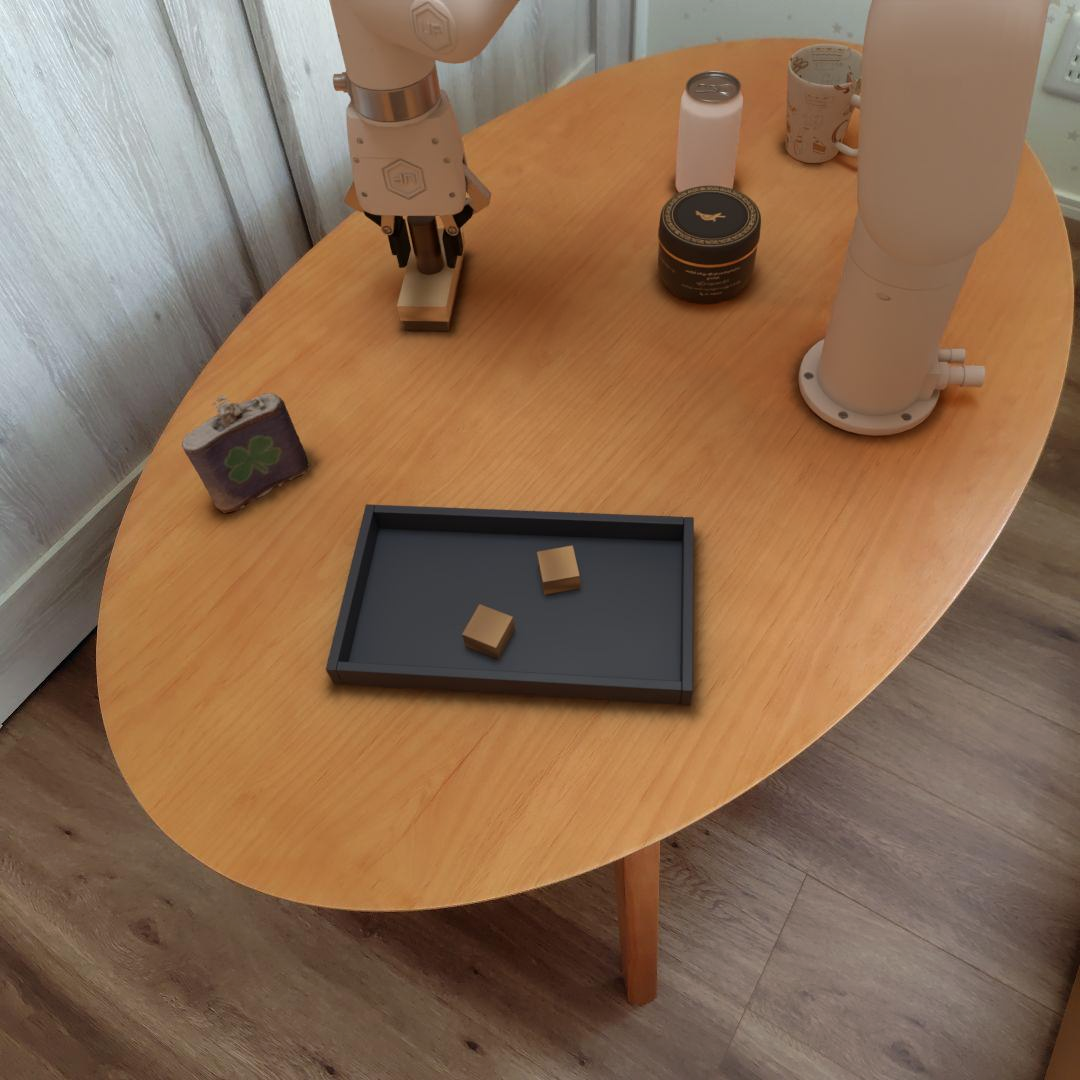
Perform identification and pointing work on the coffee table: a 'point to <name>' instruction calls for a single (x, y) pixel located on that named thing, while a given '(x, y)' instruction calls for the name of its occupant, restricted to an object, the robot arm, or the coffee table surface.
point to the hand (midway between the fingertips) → (429, 257)
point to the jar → (708, 243)
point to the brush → (428, 279)
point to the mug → (821, 101)
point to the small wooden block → (488, 631)
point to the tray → (519, 604)
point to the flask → (245, 450)
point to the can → (709, 131)
